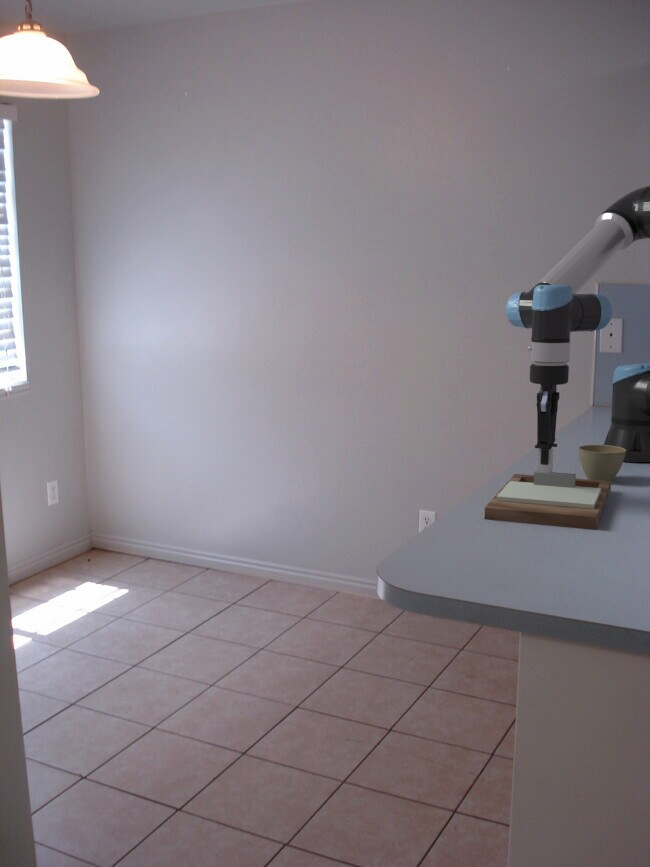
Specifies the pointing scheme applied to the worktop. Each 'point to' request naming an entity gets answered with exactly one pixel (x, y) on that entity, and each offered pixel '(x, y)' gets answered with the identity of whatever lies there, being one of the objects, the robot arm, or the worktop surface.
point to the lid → (551, 491)
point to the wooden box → (550, 508)
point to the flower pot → (601, 461)
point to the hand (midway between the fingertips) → (544, 479)
